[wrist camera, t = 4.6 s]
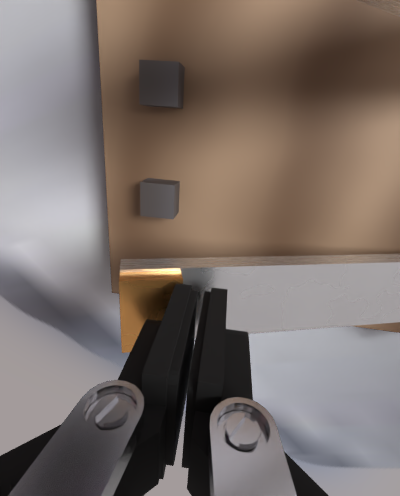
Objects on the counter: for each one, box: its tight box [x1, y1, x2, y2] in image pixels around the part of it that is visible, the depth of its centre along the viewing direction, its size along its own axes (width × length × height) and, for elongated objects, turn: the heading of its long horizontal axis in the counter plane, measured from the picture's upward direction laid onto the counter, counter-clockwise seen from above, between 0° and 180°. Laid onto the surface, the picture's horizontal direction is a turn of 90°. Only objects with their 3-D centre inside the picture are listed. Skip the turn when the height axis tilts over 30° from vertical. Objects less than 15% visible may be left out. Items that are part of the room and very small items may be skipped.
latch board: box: [96, 0, 400, 333], centre depth 13 cm, size 20×18×4 cm
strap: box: [119, 254, 400, 353], centre depth 12 cm, size 16×3×1 cm, turn 86°
